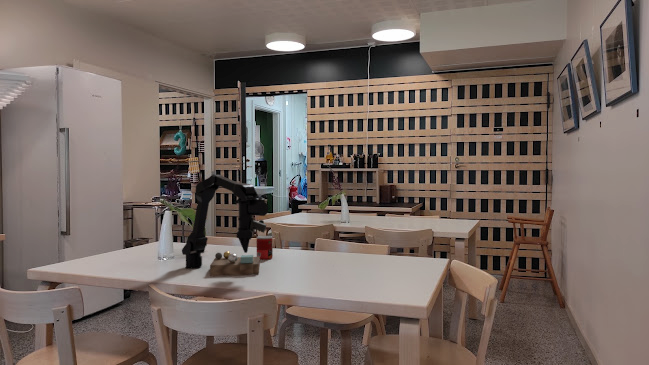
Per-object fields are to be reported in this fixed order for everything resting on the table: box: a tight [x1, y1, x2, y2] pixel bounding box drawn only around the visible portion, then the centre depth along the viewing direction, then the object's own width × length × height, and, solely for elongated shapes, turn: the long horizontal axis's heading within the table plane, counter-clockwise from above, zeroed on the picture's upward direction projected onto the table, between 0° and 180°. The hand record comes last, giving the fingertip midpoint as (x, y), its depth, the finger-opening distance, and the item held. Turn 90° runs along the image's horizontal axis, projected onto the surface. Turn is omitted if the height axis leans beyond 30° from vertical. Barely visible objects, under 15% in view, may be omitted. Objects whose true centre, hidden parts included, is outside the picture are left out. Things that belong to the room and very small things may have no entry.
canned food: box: [256, 235, 273, 261], centre depth 233 cm, size 8×8×11 cm
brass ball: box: [222, 250, 231, 259], centre depth 209 cm, size 3×3×3 cm
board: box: [209, 256, 261, 277], centre depth 203 cm, size 20×18×4 cm
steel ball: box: [228, 253, 238, 263], centre depth 198 cm, size 4×4×4 cm
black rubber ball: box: [214, 252, 223, 259], centre depth 207 cm, size 3×3×3 cm
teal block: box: [240, 254, 254, 263], centre depth 199 cm, size 5×5×2 cm
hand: (245, 252), depth 191 cm, fingers closed
